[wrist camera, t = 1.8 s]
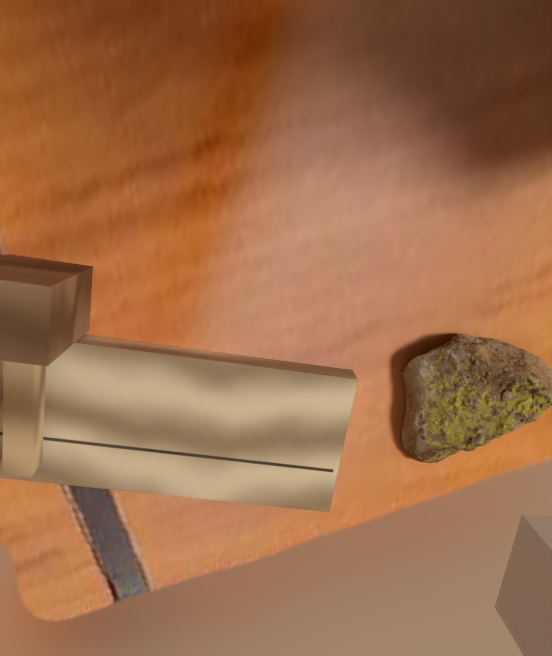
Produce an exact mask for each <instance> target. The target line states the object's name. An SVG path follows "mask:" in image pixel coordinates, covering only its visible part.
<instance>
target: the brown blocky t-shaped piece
mask: <svg viewBox="0 0 552 656" xmlns="http://www.w3.org/2000/svg"><path fill="white" fill-rule="evenodd" d="M92 272H93V266H86V265H79V264H72V263H65V262H59V261H52V260H45V259H38V258H31V257H24V256H17V255H10V254H9V255H5V256H1V257H0V360H1V361H3V455H2V474H5V475H14V476H24V477H32V475H33V474H34V473H35V471H36V470H37V469H38V468H39V466H40V465H41V464H42V462H43V433H44V404H45V374H46V366H48V365H49V364H51V363H52V362H53V361H54V360H55V359H56V358H58V357H59V356H60V355H61V354H62V353H63V352H65V351H66V350H67V349H68V348H69V347H70V346H72V345H73V344H74V343H75V342H76V341H77V340H78V339H80V338H81V337H82V336H83V335H84V334H85V333H87V332H88V331H89V323H90V306H91V289H92Z"/></svg>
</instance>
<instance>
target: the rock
mask: <svg viewBox="0 0 552 656" xmlns="http://www.w3.org/2000/svg"><path fill="white" fill-rule="evenodd" d="M401 375H402V377H403V380H404V383H405V395H406V397H407V399H406V403H405V406H406V411H405V416H404V422H403V427H402V428H401V431H402V435H401V438H402V445H403V448H404V450H406V451H407V452H408V453H409V454H410V455H411V456H413V457H414V459H415V460H417V461H420V462H423V463H433V462H439V461H441V460H443V459H445V458H447V457H449V456H450V455H453V454H455V453H456V452H458V451H460V450H465V451H472V450H475V449H476V447H478V446H484V445H486V444H487V443H489V442H490V441H491V440H492V439H495V438H498V437H501V435H503V434H505V433H509V432H512V431H513V430H515V429H517V428H519V427H521V426H523V425H524V424H526V423H529V422H533V421H536V419H537V418H538V417H539V416H540V415H541V414H542V413H543V412H544V411H545V410H546V409H547V408H548V407H549V406H550V405H552V372H551V369H550V368H549V367H548V366H547V365H546V364H545V363H544V362H543V361H542V360H541V359H540V358H539V357H537V356H535V355H533V354H531V353H529V352H527V351H525V350H523V349H518V348H516V347H515V346H513V345H511V344H509V343H505V342H502V341H499V340H497V339H494V340H491V339H488V338H481V339H478V338H475V337H472V336H468V335H465V334H458V335H456V336H453V337H452V339H451V340H450V341H448V342H446V343H445V344H444V345H443V346H439V347H437V348H436V349H432V350H430V351H429V352H427V353H426V354H422V355H420V356H417V357H415V358H414V359H412V360H411V361H410V362H409V363H408V364H407V366H406V367H405V368H404V370H403V371H402V372H401Z"/></svg>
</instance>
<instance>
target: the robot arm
mask: <svg viewBox="0 0 552 656" xmlns="http://www.w3.org/2000/svg"><path fill="white" fill-rule="evenodd" d="M495 608H496V610H497V612H498V613H499V615H500V616H501V618H502V620H503V622H504V623H505V625H506V626H507V628H508V630H509V631H510V633H511V635H512V637H513V638H514V640H515V642H516V643H517V645H518V647H519V649H520V650H521V652H522V653H523V655H524V656H552V517H546V516H533V515H522V516H521V520H520V523H519V527H518V530H517V533H516V537H515V540H514V544H513V547H512V551H511V554H510V557H509V561H508V564H507V568H506V571H505V574H504V578H503V581H502V585H501V588H500V591H499V595H498V598H497V602H496V605H495Z"/></svg>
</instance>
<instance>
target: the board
mask: <svg viewBox="0 0 552 656" xmlns="http://www.w3.org/2000/svg"><path fill="white" fill-rule="evenodd" d="M357 381H358V379H357V377H356V376H355V374H354V372H353V370H346V369H338V368H331V367H323V366H316V365H308V364H301V363H293V362H286V361H278V360H270V359H263V358H255V357H248V356H240V355H233V354H225V353H218V352H210V351H202V350H195V349H187V348H180V347H172V346H165V345H157V344H149V343H142V342H134V341H127V340H119V339H112V338H104V337H97V336H89V335H83V336H82V337H81V338H80V339H78V340H77V341H76V342H75V343H74V344H73V345H72V346H70V347H69V348H68V349H67V350H66V351H65V352H63V353H62V354H61V355H60V356H59V357H58V358H56V359H55V360H54V361H53V362H52V363H51V364H49V365H48V366H46V374H45V404H44V433H43V462H42V464H41V465H40V466H39V468H38V469H37V470H36V471H35V473H34V474H33V475H32V477H24V476H14V475H5V474H2V455H3V361H1V360H0V478H7V479H17V480H26V481H36V482H45V483H55V484H65V485H74V486H84V487H94V488H103V489H113V490H122V491H132V492H142V493H151V494H161V495H170V496H180V497H190V498H199V499H209V500H219V501H228V502H238V503H247V504H257V505H267V506H276V507H286V508H296V509H305V510H315V511H324V512H329V510H330V506H331V501H332V496H333V492H334V487H335V482H336V478H337V473H338V469H339V464H340V459H341V455H342V450H343V446H344V441H345V436H346V432H347V427H348V422H349V418H350V413H351V409H352V404H353V399H354V395H355V390H356V386H357Z"/></svg>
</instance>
